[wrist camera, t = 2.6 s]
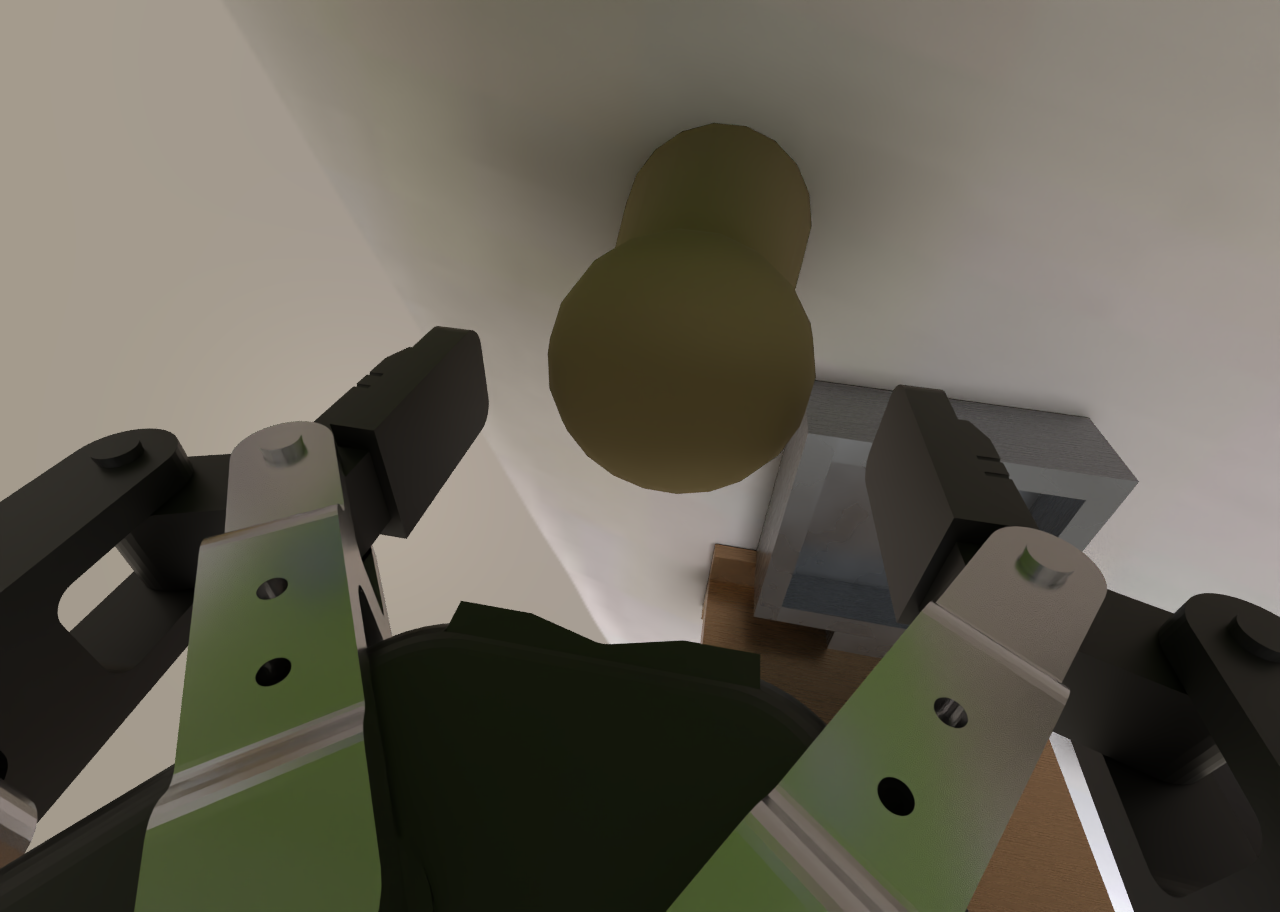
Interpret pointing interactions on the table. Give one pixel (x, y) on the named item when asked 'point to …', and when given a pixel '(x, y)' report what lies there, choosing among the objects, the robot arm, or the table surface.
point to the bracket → (863, 611)
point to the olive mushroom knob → (692, 319)
